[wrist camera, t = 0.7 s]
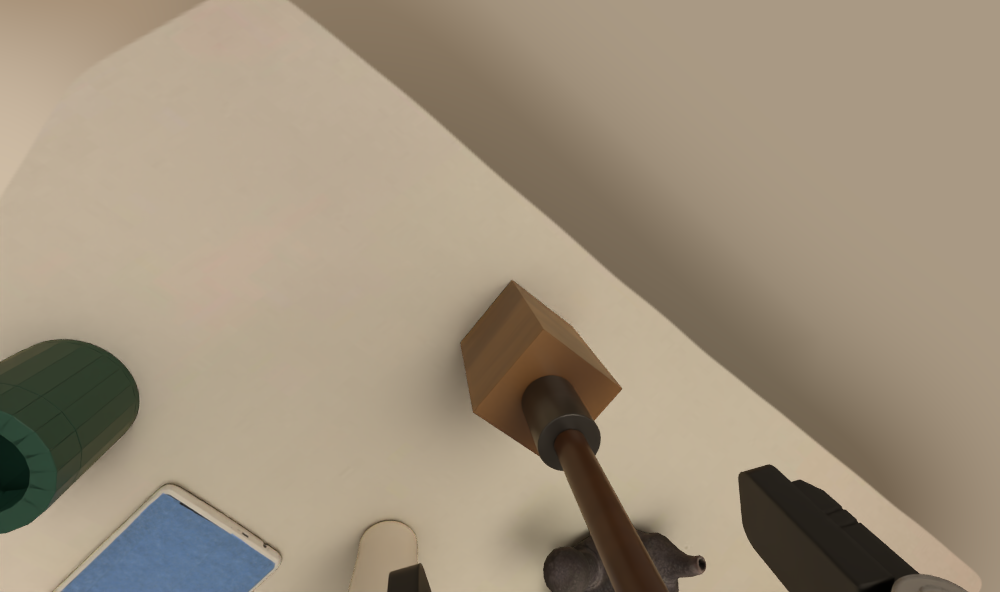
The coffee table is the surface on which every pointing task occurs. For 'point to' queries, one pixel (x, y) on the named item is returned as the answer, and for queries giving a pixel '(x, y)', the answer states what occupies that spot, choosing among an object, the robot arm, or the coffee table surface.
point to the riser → (527, 362)
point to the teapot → (584, 577)
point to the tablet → (176, 551)
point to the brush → (588, 480)
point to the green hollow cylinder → (57, 422)
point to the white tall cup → (382, 555)
